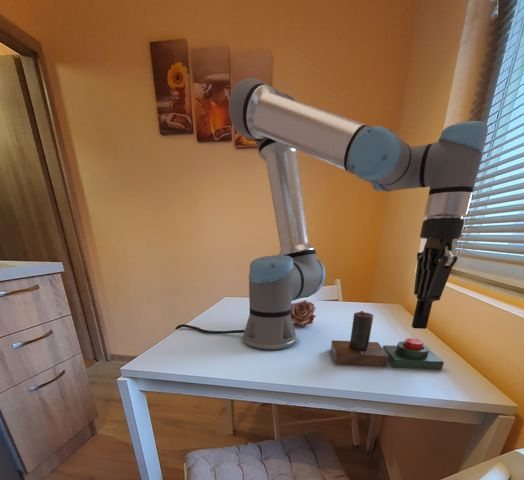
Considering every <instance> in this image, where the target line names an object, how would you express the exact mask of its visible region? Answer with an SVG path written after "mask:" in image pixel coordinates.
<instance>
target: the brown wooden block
mask: <svg viewBox="0 0 524 480" xmlns="http://www.w3.org/2000/svg"><path fill="white" fill-rule="evenodd" d="M330 352H331V356H332V359H333V361H334V364H335V366H349V367H350V366H351V367H369V368H370V367H371V368H372V367H373V368H374V367H375V368H387V367H388V363H389V362H388V358H389V356H388V354H387V353H386V352H385V351H384V349H383V346H381V344H380V343H379V342H378V341H369V345H368V349H367V350H365V351H358V350H354V349H351V348H350V340H335V339H333V340H331V344H330Z"/></svg>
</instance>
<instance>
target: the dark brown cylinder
mask: <svg viewBox="0 0 524 480" xmlns="http://www.w3.org/2000/svg"><path fill="white" fill-rule="evenodd" d="M373 321H374V314H372V313H370V312H364V310H360V312H359V311H358V312H354V313H353V319H352V324H351V325H352V326H351V333H350V340H349V341H350V348H351V349H354V350H358V351H365V350H367V349H368V345H369V342H370V339H371V332H372V328H373V327H372V326H373Z"/></svg>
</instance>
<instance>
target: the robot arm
mask: <svg viewBox="0 0 524 480" xmlns="http://www.w3.org/2000/svg"><path fill="white" fill-rule="evenodd" d="M228 115H229V118H230V122H231V124H232V126H233V128H234V129H235V131H236V132H237V133H238V134H239V135H241V136H242V137H244V139H245V138H246V139H248V140H250V141H253V142H255V143H256V144H257V149H258V155H259V159H260V160H261V161H262V162H264V163H265V164H266V170H267V175H268V181H269V187H270V188H269V189H270V193H271V199H272V205H273V211H274V219H275V223H276V230H277V237H278V243H279V248H280V250H279V252H278V254H275V255H265V256H260V257H257V258H255V259H253V260H252V261H251V262H250V264H249V273H248V291H249V292H248V295H249V296H248V297H249V298H248V300H249V301H248V302H249V315H248V319H247V322H246V325H245V329H234V330H233V329H231V330H209V329H202V328H200V327H197V326H194V325H190V324H183V323H181V324H178V325H176V327H175V330H179V329H181V328H188V329H190V330H191V329H192V330H196V331H199V332H200V333H203V334H210V335H211V334H212V335H217V334H218V335H227V334H228V335H229V334H243V343H244V344H245V345H247V346H249V347H250V348H254V349H257V350H263V351H278V350H285V349H288V348H291V347H292V346H294V345H295V344H296V338H297V336H296V330H295V326H294V322H292V319H291V304H292V301H296V300H300V299H306V298H309V297H311V296H313V295H316V293H318V292H319V291H320V290H321V289H322V287H323V286H324V283H325V281H326V275H327V274H326V268H325V265H324V263H323V262H322V261H320V259H318V258H317V253H316V248H315V247H314V246H313V245H311V243H310V240H309V233H308V227H307V225H308V224H307V219H306V213H305V206H304V197H303V190H302V185H301V177H300V171H299V164H298V156H297V155H298V153H299V152H301V153H304V154H305V155H308V156H311V157H313V158H316V159H318V160H320V161H322V162H325V163H326V164H329V165H332V166H334V167H336V168H339V169H341V170H344V171H345V172H348V173H350V174H353V175H354V176H357V178H358V179H361V180H363V181H365V182H370V185H371V186H372V189H373V190H374V191H376V192H388V193H389V192H390V193H391V192H393V191H401V190H409V189H410V190H411V189H419V188H423V189H424V188H429V189H428V190H429V191H428V195H427V199H426V202H425V207H424V213H423V216H424V217H425V218H426V219H424V220H423V221H422V224H421V229H420V234H419V237H420V239H425V240H426V241H425V244H424V246H423V250H422V251H419V252H417V254H416V271H415V280H414V288H413V289H414V290H413V294H414V295H415V296H416V299H417V301H416V305H415V310H414V313H413V318H412V322H411V328H412V329H419V330H421V329H422V330H425V329H427V326H428V323H429V319H430V315H431V310H432V306H433V302H437V301H440V300H441V297H442V295H443V292H444V289H445V287H446V284H447V283H448V280H449V277H450V274H451V272H452V269H453V267H454V266H455V264H456V263H457V262H458V255H453V254H452V251H453V243H454V240H458V239H460V238H462V235H463V232H464V228H465V224H466V220H465V219H464V218H463V217H466V215H468V212H469V208H470V205H471V203H472V196H473V193H474V188H475V185H476V181H477V178H478V175H479V170H480V167H481V164H482V161H483V156H484V153H485V152H484V150H485V146H486V141H487V135H488V132H489V127H488V125H487V124H486V123H485V122H483V121H480V120H466V121H461V122H460V121H459V122H457V123H455V124H451V125H448V126H445V128H444V129H442V131H441V133H440V136H439V138H438V141H436V142H433V143H429V144H422V145H421V144H420V145H415V146H411V145H409V144H408V143H407V142H405V140H403V139H401V138H400V136H398V135H397V134H396V133H395V131H394V130H391V129H389V128H387V127H384V126H380V125H374V126H373V125H372V126H371V125H368V124H367V123H363V122H360V121H357V120H354V119H351V118H348V117H345V116H342V115H339V114H336V113H333V112H330V111H327V110H323V109H321V108H317V107H315V106H311V105H309V104H306V103H303V102H300V101H297V100H295V99H294V98H293V96H290V95H289V94H287V93H283V92H281V91H279V90H278V89H276V88H274V87H273V86H272V85H270V84H267V83H266V82H265V81H263V80H261V79H259V78H255V77H247V78H244V79H242V80H240V81H239V82H238V83H237V84H235V86H234V87H233V88H232V91H231V93H230V96H229V100H228Z"/></svg>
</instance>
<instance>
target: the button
mask: <svg viewBox="0 0 524 480" xmlns="http://www.w3.org/2000/svg"><path fill="white" fill-rule="evenodd" d="M404 341H405V344H404V347H406V348H408V349H413V350H422V348H423V345H425V344H424V343H425V342H424V341H422V340H421V339H418V338H409V337H408V338H406V339H404Z"/></svg>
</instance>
